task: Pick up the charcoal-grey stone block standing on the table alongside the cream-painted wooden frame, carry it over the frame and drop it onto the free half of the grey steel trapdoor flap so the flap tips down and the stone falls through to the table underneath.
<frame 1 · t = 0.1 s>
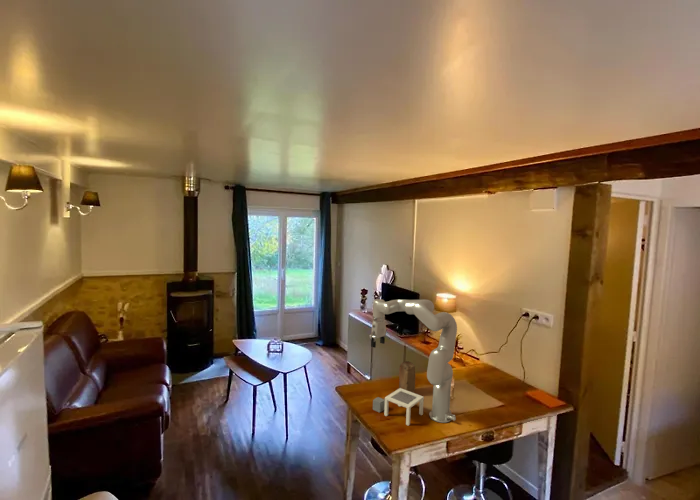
hand: (377, 345, 238), 31 cm above the table, fingers open, 9 cm apart
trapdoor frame: (403, 414, 214), on the table
trapdoor: (404, 397, 213), point 10 cm above the table, hinge at 0.0°
stone: (378, 409, 219), on the table
block: (406, 393, 240), on the table
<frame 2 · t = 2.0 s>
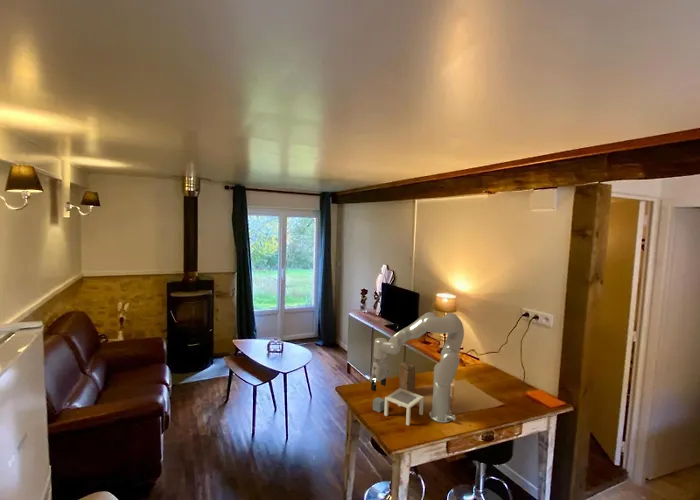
hand: (378, 387, 218), 13 cm above the table, fingers open, 9 cm apart
nothing on the table moved.
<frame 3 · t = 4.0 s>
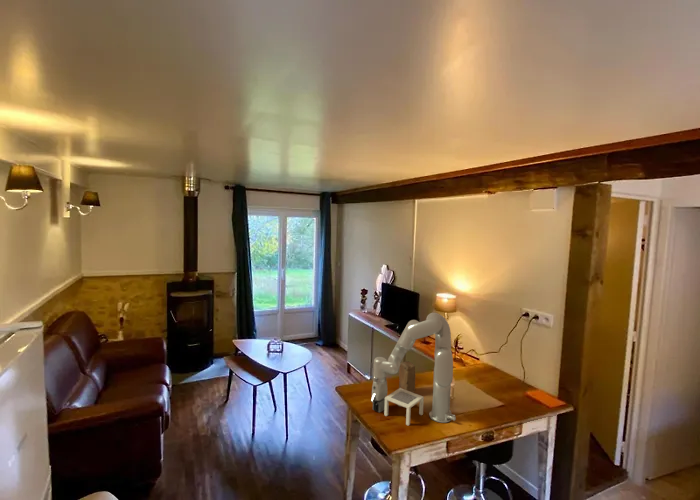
hand: (378, 408, 219), 1 cm above the table, fingers closed on stone, 5 cm apart
stone: (378, 409, 219), on the table, touching gripper
everything else where it was.
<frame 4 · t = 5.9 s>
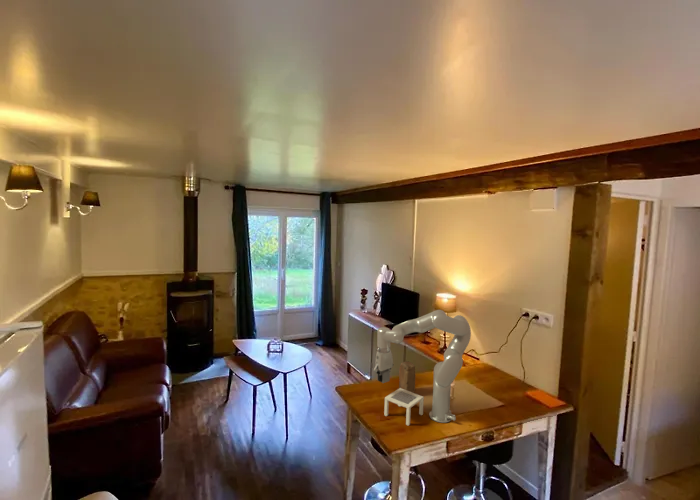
hand: (383, 379, 216), 19 cm above the table, fingers closed on stone, 5 cm apart
stone: (383, 380, 216), point 18 cm above the table, touching gripper
everything else where it was.
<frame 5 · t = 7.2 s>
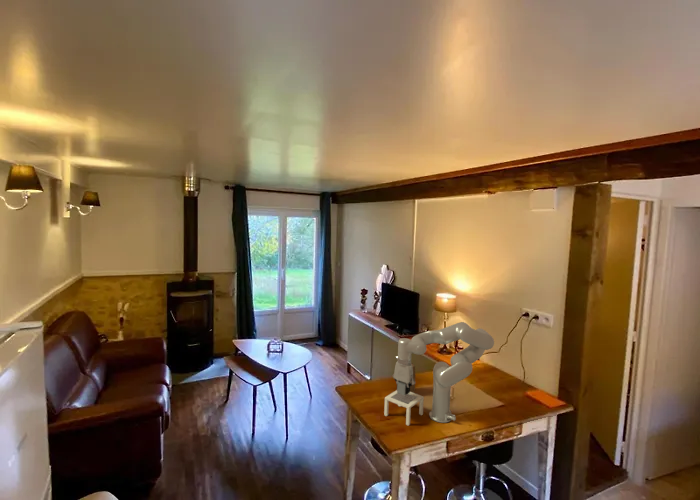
hand: (403, 391, 211), 14 cm above the table, fingers closed on stone, 5 cm apart
stone: (403, 392, 211), point 14 cm above the table, touching gripper
everything else where it was.
when the fingers open (14 cm above the table, at t = 8.0 s): stone drops 6 cm, resting on trapdoor, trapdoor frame.
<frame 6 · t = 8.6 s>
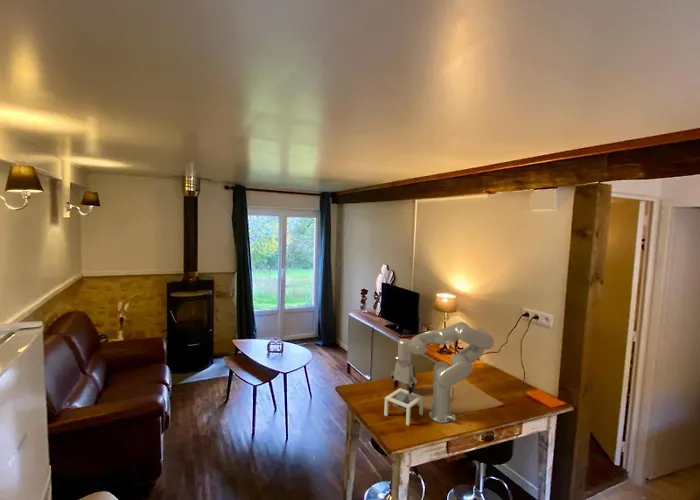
hand: (403, 390, 211), 15 cm above the table, fingers open, 9 cm apart
trapdoor: (404, 401, 213), point 8 cm above the table, hinge at -27.3°, touching stone
stone: (403, 403, 212), point 7 cm above the table, tilted 27°, touching trapdoor, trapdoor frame
everything else where it was.
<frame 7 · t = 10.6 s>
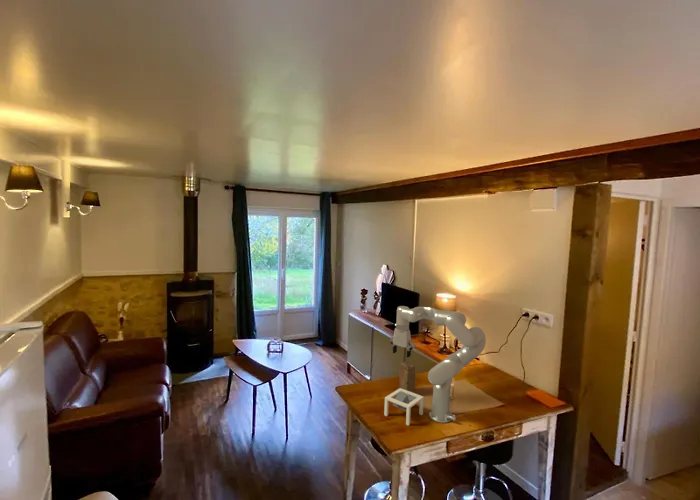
hand: (401, 354, 224), 30 cm above the table, fingers open, 9 cm apart
nothing on the table moved.
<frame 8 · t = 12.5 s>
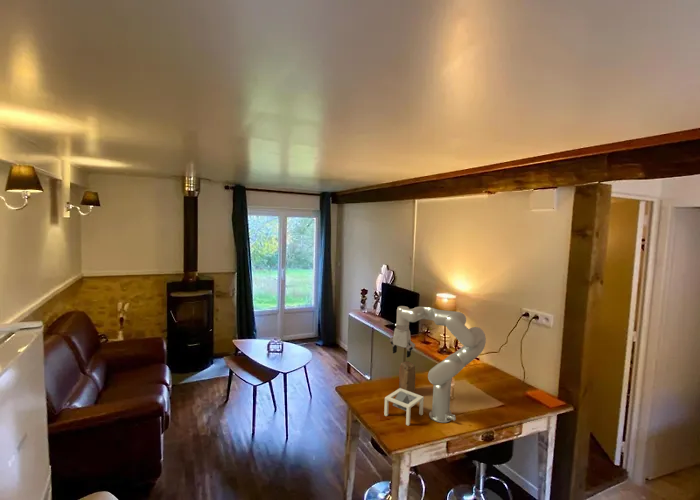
hand: (401, 354, 224), 30 cm above the table, fingers open, 9 cm apart
nothing on the table moved.
at the end: stone point 7.1 cm above the table; stone 1.2 cm from the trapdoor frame (horizontally); the gripper is holding nothing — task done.
